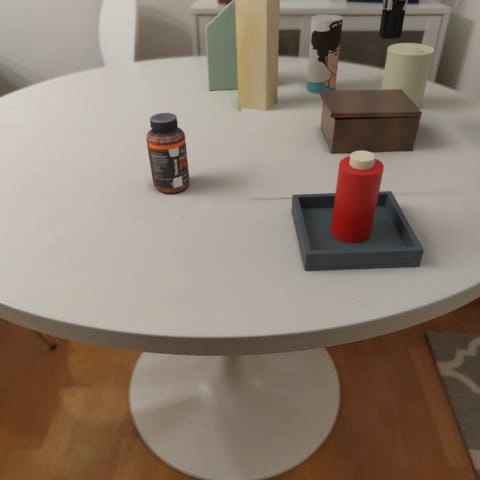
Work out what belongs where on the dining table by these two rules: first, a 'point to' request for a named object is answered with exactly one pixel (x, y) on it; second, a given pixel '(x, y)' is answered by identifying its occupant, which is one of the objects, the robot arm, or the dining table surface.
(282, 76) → the dining table surface
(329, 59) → the cup
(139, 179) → the dining table surface
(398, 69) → the can
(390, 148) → the chest
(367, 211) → the ketchup bottle
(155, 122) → the supplement bottle
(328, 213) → the tray
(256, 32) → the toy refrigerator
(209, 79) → the green magazine holder
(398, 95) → the chest lid
